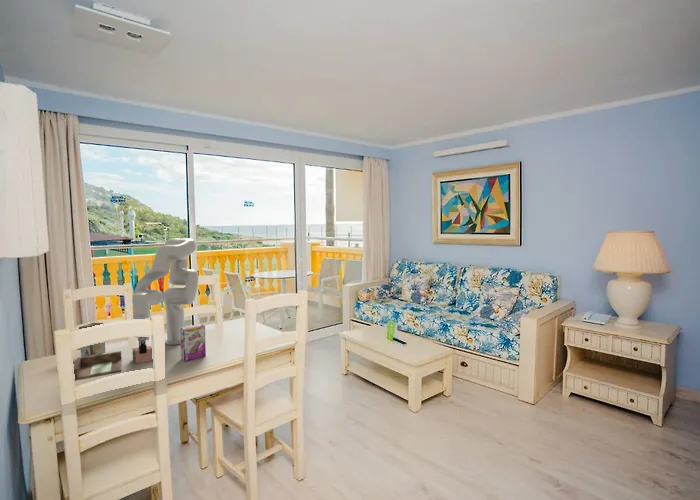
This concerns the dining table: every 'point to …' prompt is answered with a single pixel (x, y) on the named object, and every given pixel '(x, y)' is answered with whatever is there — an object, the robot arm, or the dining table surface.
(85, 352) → the coffee box
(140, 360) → the bar
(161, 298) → the robot arm
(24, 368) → the dining table surface
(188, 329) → the candy bar box
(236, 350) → the dining table surface
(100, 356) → the tray
